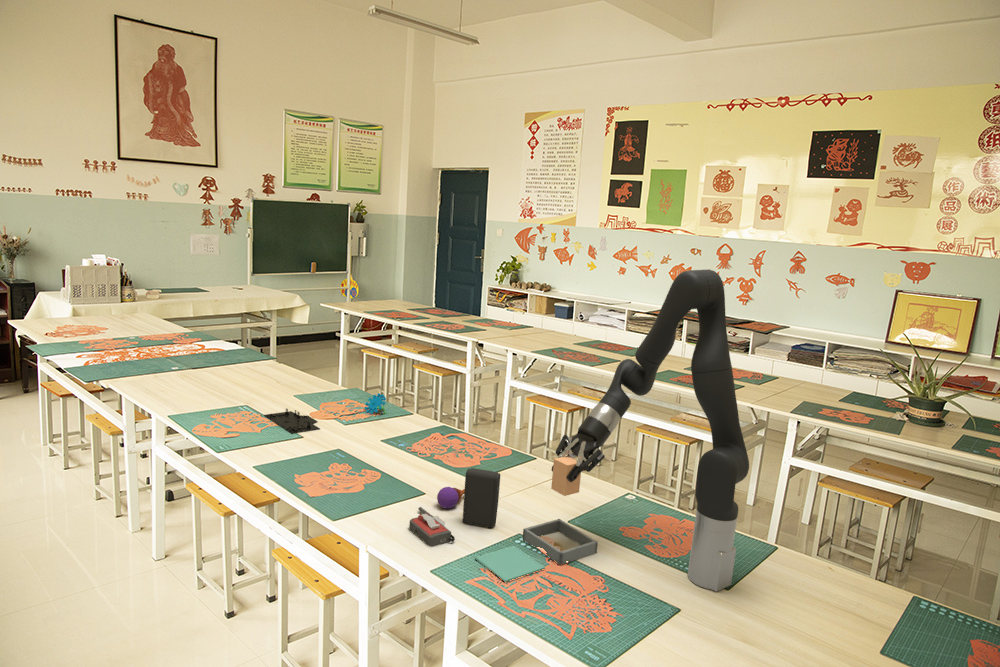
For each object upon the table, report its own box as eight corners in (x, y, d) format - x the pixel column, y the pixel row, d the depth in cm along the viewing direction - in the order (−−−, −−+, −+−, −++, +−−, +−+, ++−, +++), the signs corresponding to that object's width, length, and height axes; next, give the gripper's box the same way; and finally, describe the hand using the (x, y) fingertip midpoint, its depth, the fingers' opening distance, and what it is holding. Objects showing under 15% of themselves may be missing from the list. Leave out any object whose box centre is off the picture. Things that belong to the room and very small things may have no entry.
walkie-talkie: (461, 542, 164) (422, 511, 180) (462, 526, 163) (423, 496, 179) (432, 551, 159) (394, 518, 175) (433, 534, 158) (395, 503, 174)
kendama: (492, 480, 195) (452, 495, 179) (487, 498, 197) (446, 514, 180) (477, 471, 198) (436, 485, 182) (472, 489, 200) (430, 504, 183)
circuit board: (263, 416, 251) (264, 409, 251) (298, 412, 261) (298, 404, 260) (291, 435, 233) (291, 427, 233) (327, 429, 243) (328, 421, 242)
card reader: (497, 523, 176) (502, 471, 173) (494, 529, 172) (498, 476, 169) (465, 517, 178) (469, 466, 175) (461, 523, 174) (465, 471, 171)
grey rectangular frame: (596, 552, 164) (597, 541, 163) (560, 565, 156) (561, 553, 156) (558, 529, 175) (559, 518, 175) (522, 539, 168) (523, 528, 167)
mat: (544, 569, 154) (545, 567, 154) (505, 583, 146) (505, 580, 146) (513, 547, 163) (513, 545, 163) (475, 559, 156) (475, 557, 156)
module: (579, 492, 163) (582, 462, 162) (564, 496, 160) (567, 465, 159) (565, 485, 167) (568, 455, 166) (551, 488, 164) (553, 458, 163)
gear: (359, 406, 268) (376, 388, 271) (367, 414, 272) (383, 396, 275) (372, 416, 260) (389, 398, 263) (380, 424, 264) (397, 407, 267)
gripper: (573, 408, 171) (535, 458, 165) (613, 423, 159) (574, 478, 154) (586, 425, 175) (549, 474, 169) (626, 441, 163) (587, 494, 158)
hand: (561, 476), depth 162 cm, fingers closed on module, 5 cm apart
